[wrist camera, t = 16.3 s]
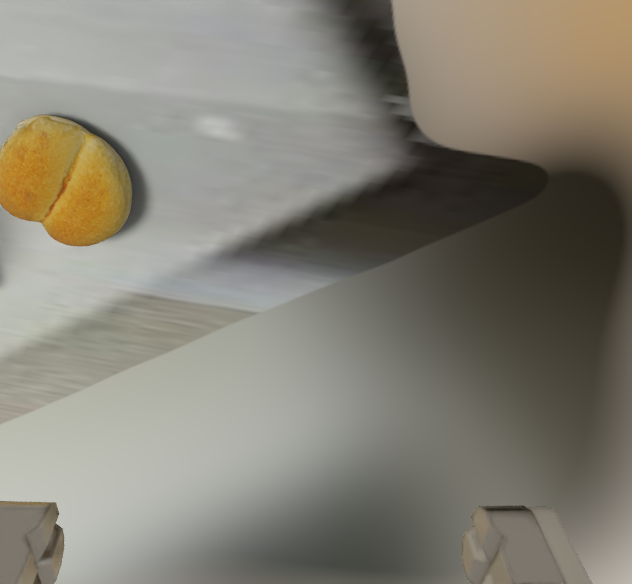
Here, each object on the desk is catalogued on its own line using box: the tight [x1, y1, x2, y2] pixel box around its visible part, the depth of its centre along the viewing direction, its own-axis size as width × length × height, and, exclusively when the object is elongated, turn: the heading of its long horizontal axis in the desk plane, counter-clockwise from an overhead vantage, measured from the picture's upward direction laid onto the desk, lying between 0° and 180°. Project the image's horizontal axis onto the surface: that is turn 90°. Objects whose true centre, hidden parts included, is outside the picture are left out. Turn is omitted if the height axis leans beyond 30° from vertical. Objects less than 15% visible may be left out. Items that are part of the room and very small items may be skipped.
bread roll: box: [0, 115, 132, 246], centre depth 37 cm, size 8×9×4 cm
